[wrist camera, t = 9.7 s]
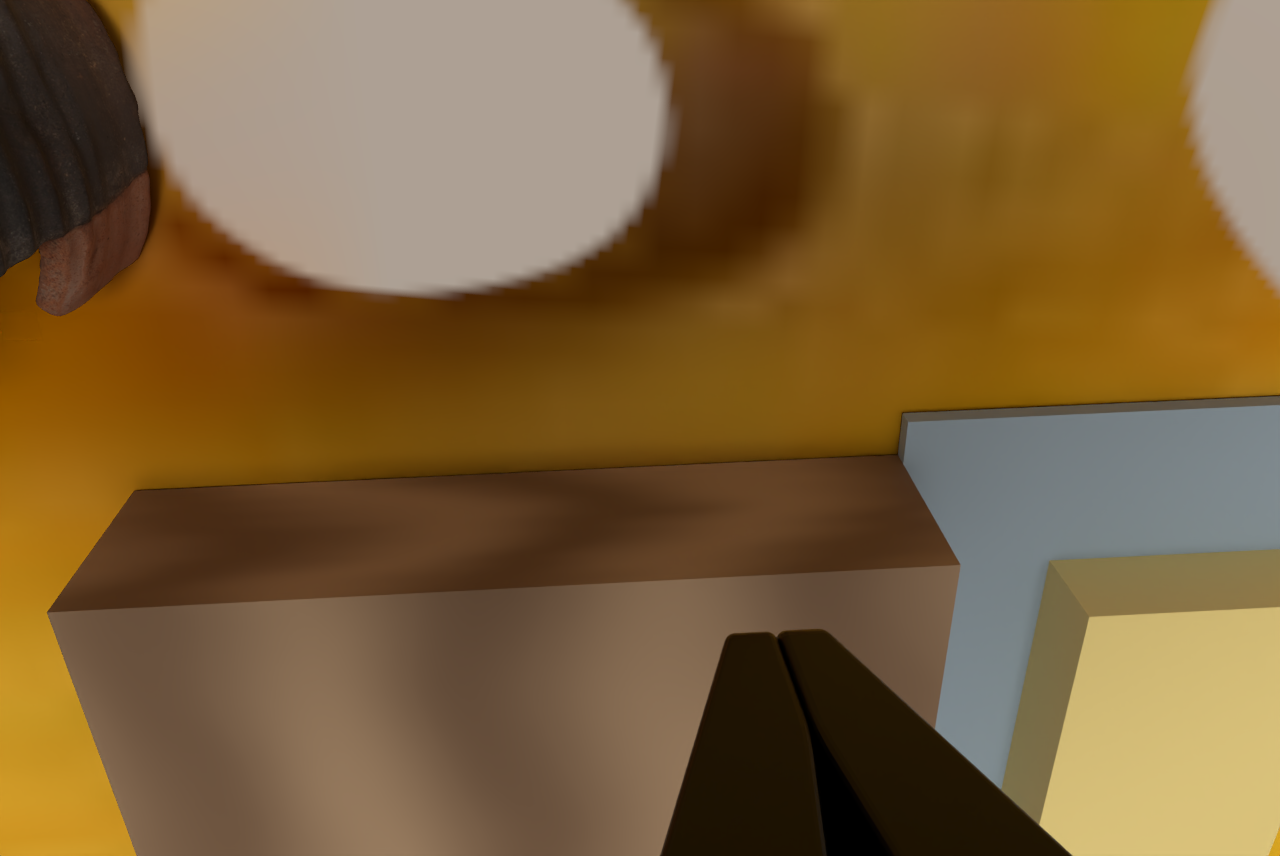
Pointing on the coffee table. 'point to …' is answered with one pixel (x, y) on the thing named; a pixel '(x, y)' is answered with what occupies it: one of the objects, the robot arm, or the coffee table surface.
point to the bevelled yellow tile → (1154, 706)
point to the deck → (471, 646)
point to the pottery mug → (68, 152)
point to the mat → (1074, 520)
